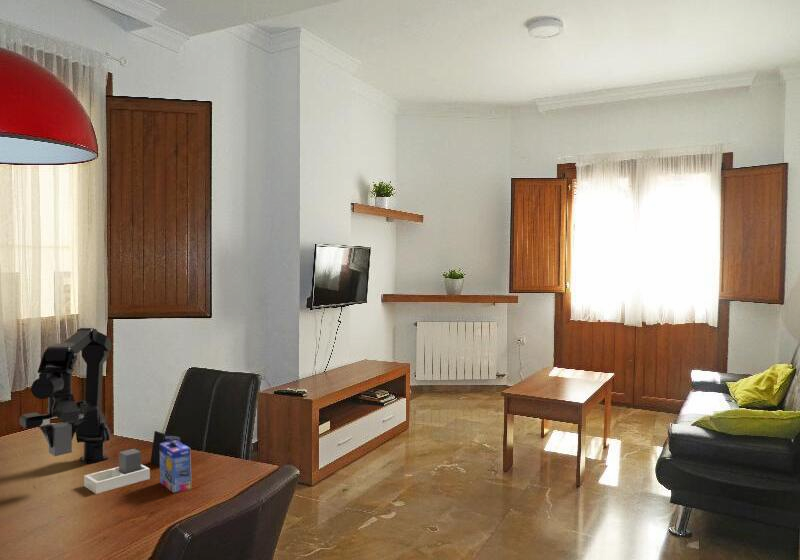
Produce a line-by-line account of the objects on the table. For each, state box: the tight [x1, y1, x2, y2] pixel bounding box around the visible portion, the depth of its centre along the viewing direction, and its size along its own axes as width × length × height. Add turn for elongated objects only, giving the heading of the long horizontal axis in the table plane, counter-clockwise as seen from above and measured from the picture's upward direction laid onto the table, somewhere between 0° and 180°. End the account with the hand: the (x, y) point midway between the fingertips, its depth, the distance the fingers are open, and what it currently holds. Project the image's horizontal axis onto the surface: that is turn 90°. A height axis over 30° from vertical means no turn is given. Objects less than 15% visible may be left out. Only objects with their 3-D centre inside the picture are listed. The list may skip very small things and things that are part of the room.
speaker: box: [150, 430, 181, 467], centre depth 187 cm, size 8×6×10 cm
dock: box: [83, 463, 151, 495], centre depth 170 cm, size 8×15×4 cm, turn 140°
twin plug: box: [118, 448, 142, 474], centre depth 173 cm, size 4×4×8 cm
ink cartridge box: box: [159, 437, 192, 493], centre depth 169 cm, size 10×6×14 cm, turn 45°
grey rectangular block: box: [48, 422, 73, 457], centre depth 167 cm, size 4×4×8 cm
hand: (60, 445), depth 167 cm, fingers closed on grey rectangular block, 4 cm apart
